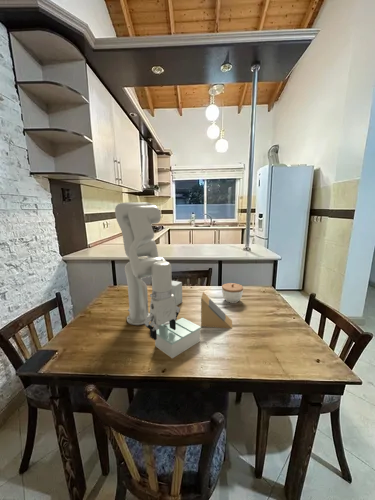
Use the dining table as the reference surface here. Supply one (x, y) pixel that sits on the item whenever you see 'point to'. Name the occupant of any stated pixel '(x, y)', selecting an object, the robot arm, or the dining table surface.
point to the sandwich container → (213, 314)
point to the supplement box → (177, 291)
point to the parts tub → (177, 344)
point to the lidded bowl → (232, 292)
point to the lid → (177, 331)
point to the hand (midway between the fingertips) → (163, 333)
